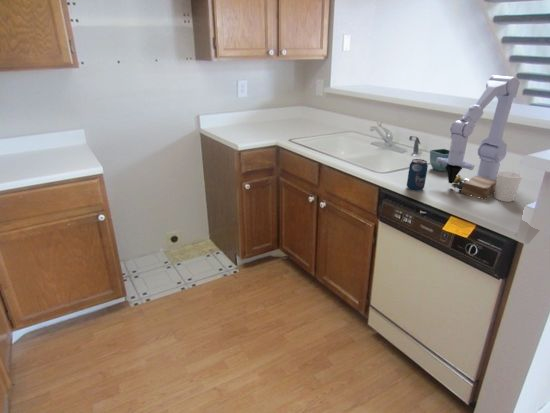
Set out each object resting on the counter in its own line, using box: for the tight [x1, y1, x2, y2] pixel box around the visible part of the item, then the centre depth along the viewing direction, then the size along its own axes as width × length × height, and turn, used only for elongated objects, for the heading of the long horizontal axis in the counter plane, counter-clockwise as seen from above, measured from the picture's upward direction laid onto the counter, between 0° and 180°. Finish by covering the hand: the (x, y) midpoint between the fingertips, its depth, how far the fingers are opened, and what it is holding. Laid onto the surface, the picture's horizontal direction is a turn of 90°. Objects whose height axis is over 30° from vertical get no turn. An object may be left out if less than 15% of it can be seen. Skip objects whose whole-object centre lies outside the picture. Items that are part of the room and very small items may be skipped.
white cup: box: [493, 170, 523, 203], centre depth 147 cm, size 8×8×10 cm
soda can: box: [406, 158, 429, 192], centre depth 156 cm, size 7×7×12 cm
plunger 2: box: [457, 181, 465, 191], centre depth 154 cm, size 4×10×4 cm, turn 44°
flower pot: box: [429, 148, 450, 172], centre depth 181 cm, size 9×9×9 cm
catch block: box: [460, 175, 497, 200], centre depth 154 cm, size 13×9×4 cm
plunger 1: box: [452, 174, 470, 185], centre depth 161 cm, size 4×10×4 cm, turn 44°
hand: (451, 182), depth 159 cm, fingers closed
